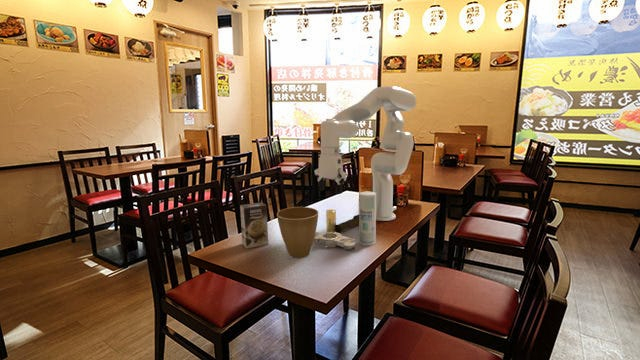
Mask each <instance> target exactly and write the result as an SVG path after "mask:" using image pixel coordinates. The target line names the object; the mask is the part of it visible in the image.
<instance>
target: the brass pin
mask: <svg viewBox="0 0 640 360" xmlns="http://www.w3.org/2000/svg"><path fill="white" fill-rule="evenodd" d="M325 211H326V212H325V213H326V219H325V221H326V222H325V223H326V232H336V225H337V221H336V220H337V219H336V217H337V216H336V215H337V214H336V213H337V211H336V209H327V210H325Z"/></svg>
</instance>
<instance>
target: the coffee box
mask: <svg viewBox="0 0 640 360" xmlns="http://www.w3.org/2000/svg"><path fill="white" fill-rule="evenodd" d="M239 206H240V207H239V209H240V222H241V223H240V226H241V243H242V246H244V247H245V249H251V248H256V247H261V246H262V247H263V246H266V245H269V233H268V210H267V208H268V207H267V205H266V204H265V203H264V202H254V203H253V202H252V203H247V204H240V205H239Z"/></svg>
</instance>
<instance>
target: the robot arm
mask: <svg viewBox="0 0 640 360" xmlns="http://www.w3.org/2000/svg"><path fill="white" fill-rule="evenodd" d="M416 106H417V97H416V95H415V94H414V93H413V92H412V91H409V90H406V89H404V88H401V87H398V86H395V85H388V86H387V85H386V86H379V87H375V88H374V89H372V90H371V91H370V92H369V93H367V95H366V96H364V97H363V98H362V99H361V100H359V102H357V103H355V104H353V105H351V106H349V107H347V108H345V109H343V110H341V111H339V112H338V113H337V114H335V115H334V116H333V117H332V118H330V120H323V121H322V122H321V123H320V154H319V162H318V168H316V169H314V175H315V178H316V180H317V182H318V191H319V192H322V191H325V189H326V181H325V179H327V180H332V181H333V180H334V181H335V182H336V183H337V184H336V186H335V192H336V193H335V194H336V195H341V194H343V185H344V183H345V182H346V181H347V177H348V173H347V172H345V171H344V166H343V158H342V155H341V154H340V153H341V152H342V150H341V148H340V139H341V138H342V139H352V138H354V137H355V136H356V135H357V134H358V130H359V128H358V125H357V123H359V122H364V121H367V120H369V119H371V118H372V117H373V116H374V115H375V114H377V112H378V111H380V110H381V108H383V110H384V112H385V116H386V124H385V127H384V130H383V133H382V136H381V139H380V145H379V146H380V148H381V149H382V150H384V151H387V152H383V151H382V152H377V153H375V154H373V155H372V157H371V159H370V168H371V172H372V174H371V175H372V192H375V193H376V221H381V222H382V221H383V222H385V221H387V222H388V221H393V220H395V219H396V217H397V216H396V214H395V213H394V211H397V206H395V205H394V206H393V203H394V201H393V197H394V196H393V195H394V181H393V177H392V175H395V176H396V175H397V176H398V175H400V176H401V175H402V174H404V173H405V171H406V170H407V168H408V164H409V162H410V158H411V156H412V152H413V148H414V145H415V144H414V141H415V140H414V136H413V134H411V133H410V132H409V131H404V127H405V119H404V117H403V116H402V113H401V112H411V111H413V110H414V109H415V107H416ZM394 152H395V153H394Z"/></svg>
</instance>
